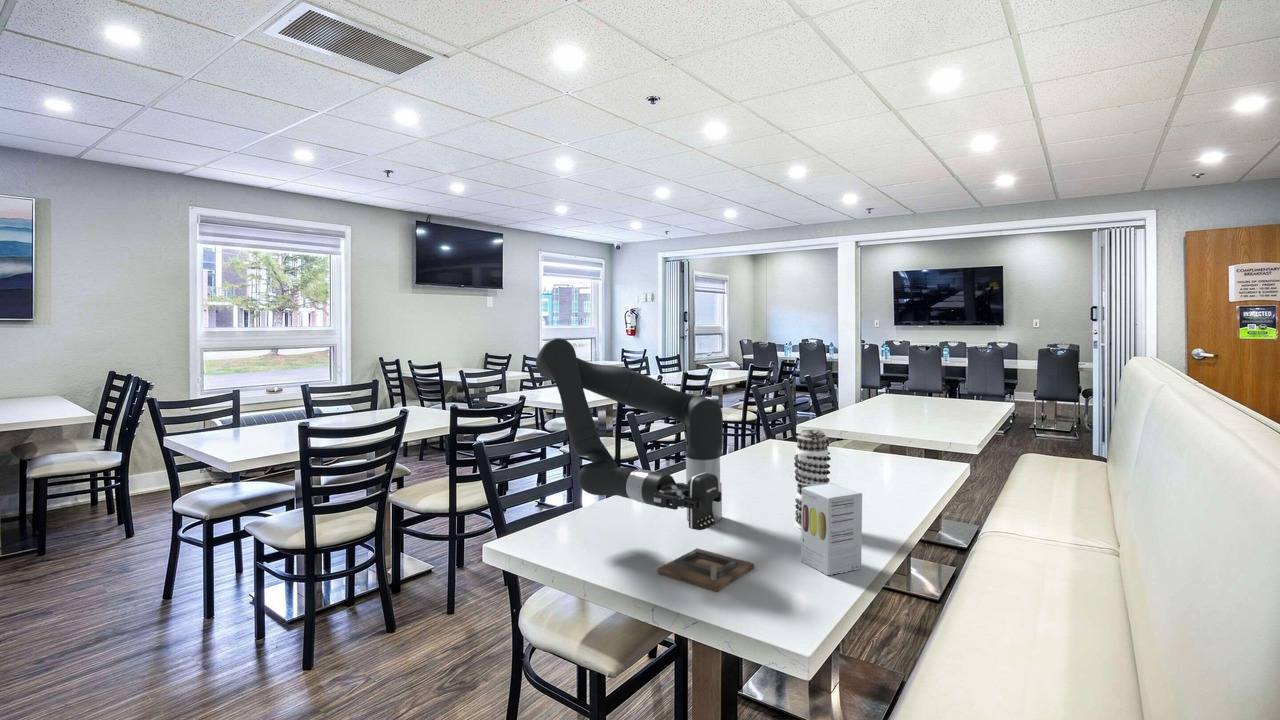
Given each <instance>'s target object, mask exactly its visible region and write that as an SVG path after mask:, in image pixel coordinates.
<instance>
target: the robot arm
mask: <svg viewBox="0 0 1280 720" xmlns="http://www.w3.org/2000/svg"><path fill="white" fill-rule="evenodd" d="M535 367H536V369H537V371H538V373H539V374H540V375H541V376H542V377H544V378H546V379H547V380H551V381H553V382H554V383H555V385H556V388H557V391H558V393H559V396H560V400H561V401H560V402H561V405H562V412H563V417H564V422H565V423H564V424H565V427H566V429H567V434H568V436H569V438H570V442H571V444H572V447H573V450H574V452H575V454H576V455H577V456H578V457H587V458H588V459H589V460H590V461H591V463H589V464H587V465H584V466H583V467H582V468H581V469H580V470H579V472H578V473H577V474H578V475H577V482H578V486H580V488H581V489H582V490H583V491H584V492H585V493H587V494H590V495H593V496H611V497H612V496H617V497H618V496H619V497H621V498H625V499H628V500H629V499H630V500H633V501H636V502H638V503H641V504H646V505H650V506H652V507H653V506H655V507H657V508H661V509H663V508H664V509H665V508H666V509H668V510H669V509H670V510H678V509H679V508H680V509H685V508H686V519H687V521H689V508H690V509H695V510H701V509H702V501H701V499H697V498H692V497H688V491H689V480H690V478H691V477H692V476H694V475H697V474H700V473H705V472H706V473H709V474H714V475H716V476H717V478H718V486H719V495H718V497H717V498H715V499H714V500H713V504H712V511H713V516H714V518H715V523H717V522H720V520H721V517H723V513H722V512H723V508H722V507H723V505H722V504H723V499H722V498H723V497H722V495H723V493H722V485H723V484H722V482H721V450H722V446H723V436H724V435H723V433H724V430H723V429H724V421H723V420H724V417H723V410H722V408H721V406H720V405H719V403H718V402H716V401H715V400H712V398H711V399H710V398H707V397H704V396H700V395H695V394H691V393H687V392H683V391H679V390H676V389H673V388H671V387H669V386H666V385H665V384H664V383H662V382H660V381H658V380H656V379H654V378H652V377H650V376H648V375H646V374H644V373H642V372H638V371H635V370H633V369H630V368H626V367H622V366H616V365H609V364H598V363H593V362H589V361H586V360H584V359H581V358H579V357H577V353H576V350H575V348H574V346H573V345H572V343H570V342H569V341H568V340H567V339H565V338H561V337H554V338H552V339H549V340H548V341H546V342H545V344H543V346H542V347H541V349H540V351H539V353H538V354H537V356H536V360H535ZM584 390H587V391H589V392H592V393H594V394H597V395H599V396H602V397H605V398H607V399H608V400H611V401H612V400H613V401H615V402H617V403H620V404H623V405H624V406H628V407H631V408H633V409H637V410H642V411H646V412H652V413H658V414H661V415H665V416H668V417H670V418H672V419H674V420H676V421H678V422H680V423H682V424H684V425H686V426H688V427H689V430H688V431H689V436H688V437H689V441H688V444H687V445H686V447H685V473H686V474H685V478H686V479H685V483H684V482H676V480H675V479H674V477H673V476H672V475H670V474H668V473H664V472H658V471H653V470H648V469H637V468H632V467H626V466H622V467H621V466H620V467H619V466H618V464H617V463H616V461H615V460H614V457H613V456H612V454H611V453H610V452H609V450H608V449H607V447H606V446H605V445H604V443H603V442H602V440H601V436H600V434H599V432H598V427H597V426H596V424H595V420H594V419H593V415H592V413H591V412H592V411H591V410H590V407H589V403H588V401H587V396H586V394H585V391H584Z"/></svg>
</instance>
